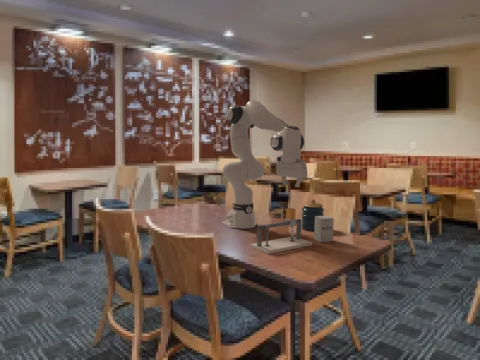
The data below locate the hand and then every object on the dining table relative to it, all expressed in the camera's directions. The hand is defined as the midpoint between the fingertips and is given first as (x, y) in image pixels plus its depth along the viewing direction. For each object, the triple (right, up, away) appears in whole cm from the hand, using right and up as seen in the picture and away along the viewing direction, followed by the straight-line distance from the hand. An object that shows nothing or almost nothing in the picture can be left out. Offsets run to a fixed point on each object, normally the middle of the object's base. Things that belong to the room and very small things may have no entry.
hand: (291, 186), depth 200 cm
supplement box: (+18, -29, +8) cm, 35 cm away
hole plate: (-5, -30, -3) cm, 30 cm away
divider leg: (0, -27, +2) cm, 27 cm away
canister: (+17, -26, +34) cm, 46 cm away
